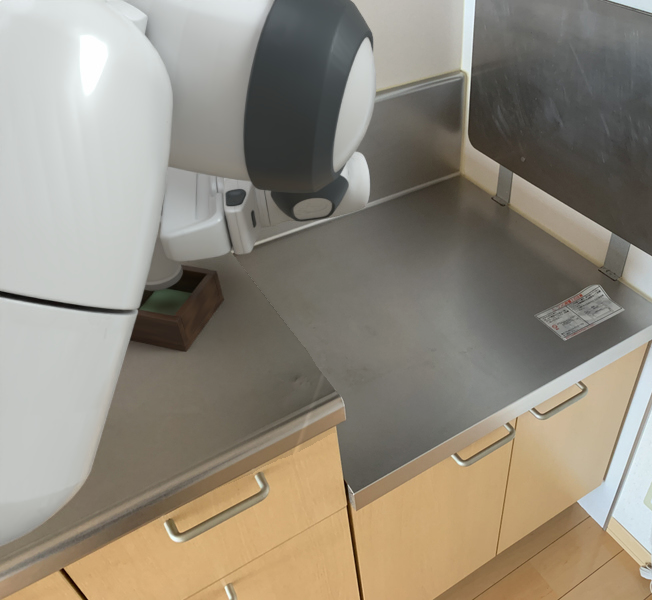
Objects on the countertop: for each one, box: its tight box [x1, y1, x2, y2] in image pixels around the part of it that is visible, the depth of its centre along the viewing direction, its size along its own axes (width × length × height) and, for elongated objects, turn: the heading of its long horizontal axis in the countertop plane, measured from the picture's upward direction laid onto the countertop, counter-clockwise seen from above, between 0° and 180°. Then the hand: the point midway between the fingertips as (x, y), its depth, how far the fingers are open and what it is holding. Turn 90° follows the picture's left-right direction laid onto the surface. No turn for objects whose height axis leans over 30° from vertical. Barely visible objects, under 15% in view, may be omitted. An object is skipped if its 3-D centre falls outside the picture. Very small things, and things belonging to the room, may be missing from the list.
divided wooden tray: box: [130, 264, 225, 352], centre depth 87 cm, size 11×21×6 cm, turn 75°
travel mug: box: [144, 205, 183, 291], centre depth 76 cm, size 6×7×20 cm
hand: (127, 209), depth 75 cm, fingers closed on travel mug, 6 cm apart
